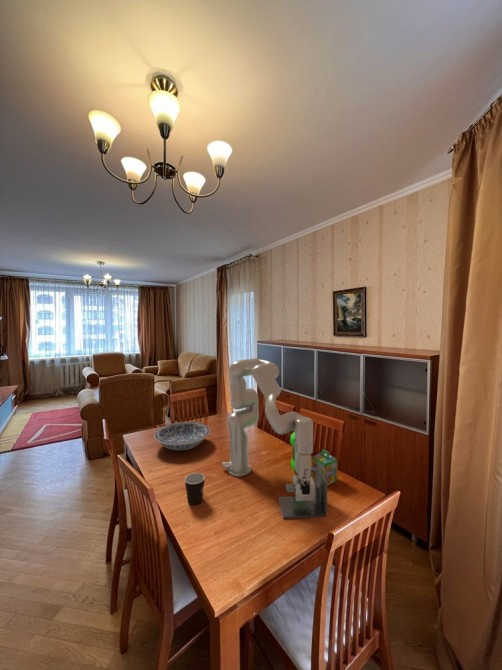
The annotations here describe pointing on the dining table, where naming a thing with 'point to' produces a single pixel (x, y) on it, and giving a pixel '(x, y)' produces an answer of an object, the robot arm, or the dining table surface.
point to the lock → (298, 487)
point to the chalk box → (325, 466)
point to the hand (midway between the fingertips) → (302, 486)
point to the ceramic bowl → (182, 435)
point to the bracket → (306, 508)
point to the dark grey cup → (194, 488)
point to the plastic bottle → (292, 441)
